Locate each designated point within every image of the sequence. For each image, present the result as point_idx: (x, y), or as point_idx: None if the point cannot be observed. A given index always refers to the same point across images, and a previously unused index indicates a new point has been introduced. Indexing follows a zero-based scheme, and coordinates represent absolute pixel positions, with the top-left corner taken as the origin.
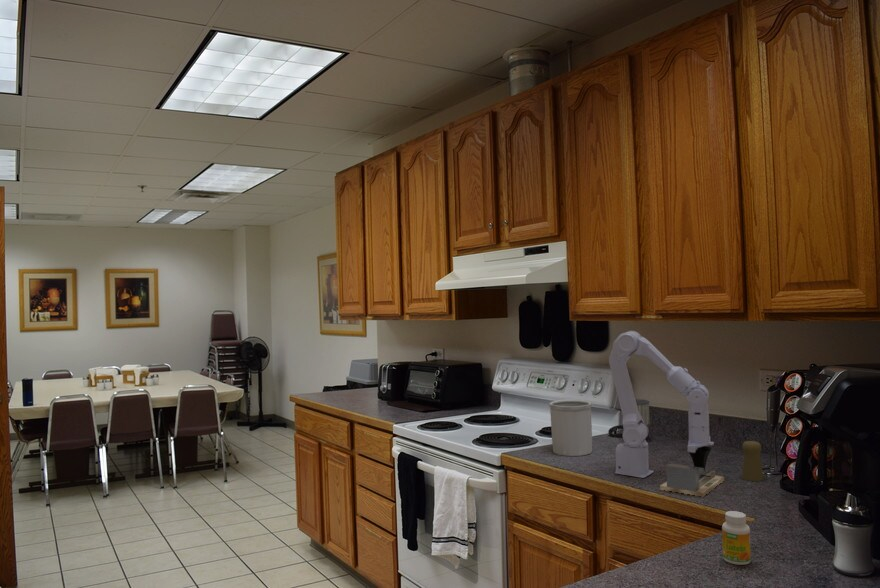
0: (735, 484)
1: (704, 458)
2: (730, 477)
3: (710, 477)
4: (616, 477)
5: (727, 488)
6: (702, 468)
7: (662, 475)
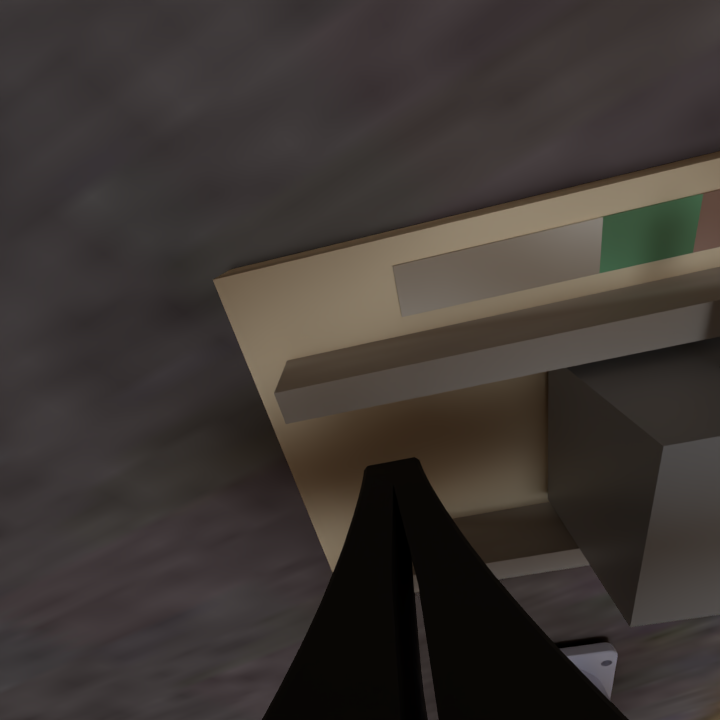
0: (248, 78)
1: (550, 652)
2: (58, 294)
3: (466, 332)
4: (657, 699)
5: (499, 53)
6: (713, 442)
7: None
